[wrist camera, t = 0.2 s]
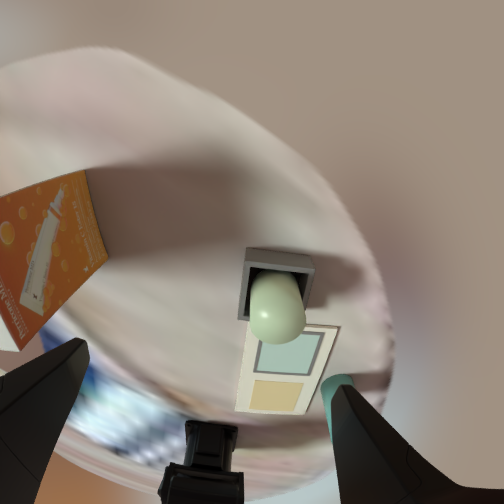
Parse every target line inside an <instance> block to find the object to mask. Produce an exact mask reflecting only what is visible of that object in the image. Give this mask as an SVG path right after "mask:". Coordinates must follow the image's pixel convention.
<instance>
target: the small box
mask: <svg viewBox="0 0 504 504" xmlns="http://www.w3.org/2000/svg"><path fill="white" fill-rule="evenodd" d="M107 260H108V255H107V252H106V250H105V247H104V244H103V241H102V238H101V235H100V231H99V228H98V224H97V221H96V217H95V214H94V210H93V206H92V202H91V198H90V194H89V189H88V185H87V180H86V175H85V171H84V170H79V171H75V172H72V173H68V174H65V175H61V176H58V177H55V178H52V179H48V180H45V181H42V182H39V183H36V184H33V185H30V186H27V187H25V188H22V189H19V190H16V191H14V192H11V193H8V194H5V195H3V196H0V350H7V351H17V352H20V351H21V350H22V349H23V348H24V347H25V346H26V344H27V343H28V342H29V341H30V340H31V339H32V338H33V337H34V335H35V334H36V333H37V332H38V331H39V330H40V329H41V328H42V326H43V325H44V324H45V323H46V322H47V321H48V320H49V319H50V318H51V317H52V316H53V315H54V313H55V312H56V311H57V310H58V309H59V308H60V307H61V306H62V305H63V304H64V303H65V302H66V301H67V300H68V299H69V298H70V297H71V296H72V295H73V294H74V293H75V292H76V291H77V290H78V289H79V288H80V287H81V286H82V285H83V284H84V283H85V282H86V281H87V280H88V279H89V278H90V276H91V275H92V274H93V273H95V272H96V271H97V270H98V269H99V268H100V267H101V266H102V265H103V264H104V263H105V262H106V261H107Z"/></svg>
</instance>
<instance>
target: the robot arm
mask: <svg viewBox="0 0 504 504" xmlns="http://www.w3.org/2000/svg"><path fill="white" fill-rule="evenodd" d="M89 361H90V355H89V350H88V345H87V342H86V340H84V339H80V338H73V339H71V340H70V341H68V342H66V343H64V344H62V345H60V346H58V347H56V348H54V349H52V350H50V351H48V352H47V353H45V354H43V355H41V356H39V357H37V358H35V359H33V360H31V361H29V362H27V363H26V364H24V365H22V366H20V367H18V368H16V369H14V370H12V371H10V372H8V373H6V374H5V375H3V376H1V377H0V504H34V502H35V499H36V496H37V493H38V490H39V487H40V484H41V481H42V478H43V475H44V473H45V470H46V467H47V465H48V462H49V459H50V457H51V455H52V452H53V450H54V447H55V445H56V443H57V440H58V438H59V436H60V433H61V431H62V429H63V426H64V424H65V422H66V420H67V417H68V415H69V413H70V411H71V409H72V407H73V404H74V402H75V400H76V398H77V396H78V393H79V390H80V387H81V384H82V381H83V378H84V376H85V373H86V370H87V367H88V365H89ZM331 426H332V443H333V450H334V456H335V463H336V470H337V477H338V485H339V492H340V501H341V504H504V489H486V488H472V487H464V486H461V485H458V484H456V483H455V482H453V481H452V480H450V479H449V478H448V477H447V476H445V475H444V474H443V473H442V472H440V471H439V470H438V469H436V468H435V467H434V466H433V465H431V464H430V463H429V462H428V461H427V460H426V459H424V458H423V457H422V456H421V455H420V454H419V453H418V452H417V451H416V450H415V449H414V448H413V447H412V446H411V445H409V443H408V442H407V441H406V440H405V439H404V438H403V437H402V436H401V435H400V434H399V433H398V432H397V431H396V430H395V429H394V428H393V427H392V426H391V425H390V424H389V423H388V422H387V421H386V420H385V419H384V418H383V417H382V416H381V415H380V414H379V413H378V412H377V411H376V410H375V409H374V408H373V407H372V406H371V405H370V404H369V402H368V401H367V400H366V399H365V398H364V397H363V396H362V395H361V394H360V393H359V392H358V391H357V390H356V389H355V388H354V387H353V386H352V385H350V384H340V385H339V386H338V388H337V390H336V392H335V393H334V395H333V397H332V399H331ZM185 432H186V445H187V448H186V453H185V459H184V464H183V465H180V464H175V463H173V462H170V465H169V466H167V467H166V468H165V473H164V477H163V480H162V482H161V484H160V487H159V489H158V495H159V496H160V497H161V501H162V504H244V473H243V472H231V459H232V452H234V448H235V443H236V438H237V433H238V428H237V427H232V426H223V425H214V424H207V423H200V422H193V421H186V422H185Z"/></svg>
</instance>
